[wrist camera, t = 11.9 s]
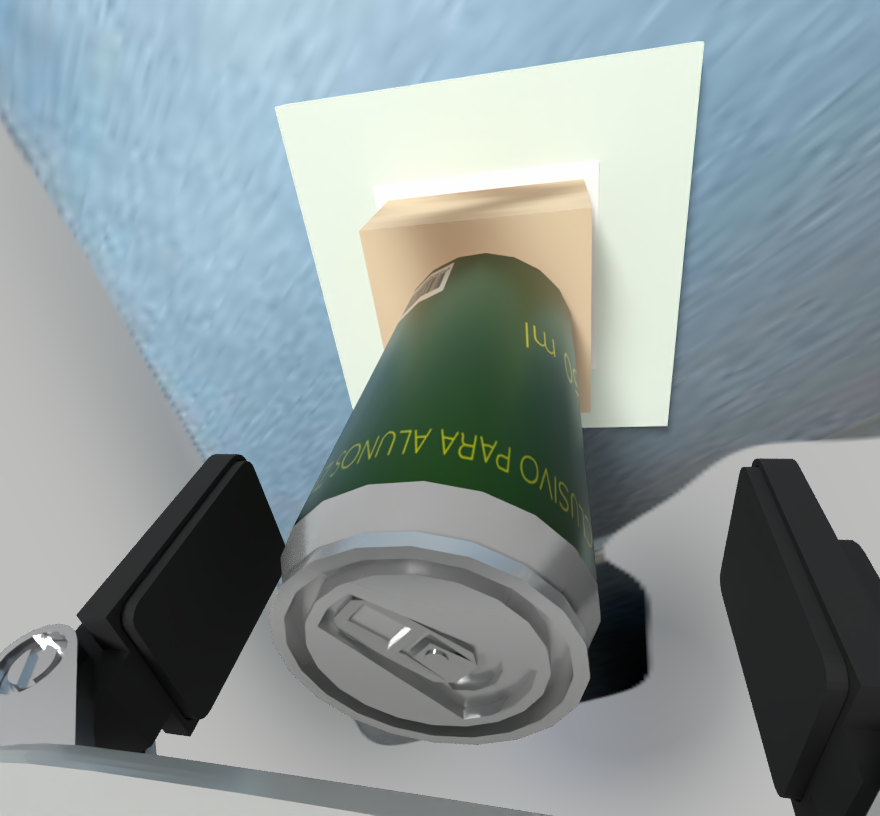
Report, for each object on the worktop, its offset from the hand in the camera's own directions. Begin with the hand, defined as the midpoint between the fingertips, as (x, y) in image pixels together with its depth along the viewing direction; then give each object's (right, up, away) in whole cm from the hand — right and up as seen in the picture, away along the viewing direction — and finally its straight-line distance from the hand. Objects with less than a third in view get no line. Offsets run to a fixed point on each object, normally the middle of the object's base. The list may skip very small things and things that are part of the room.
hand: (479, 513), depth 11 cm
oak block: (+1, +7, +11) cm, 13 cm away
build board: (+1, +7, +12) cm, 14 cm away
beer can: (+1, +5, +8) cm, 9 cm away
